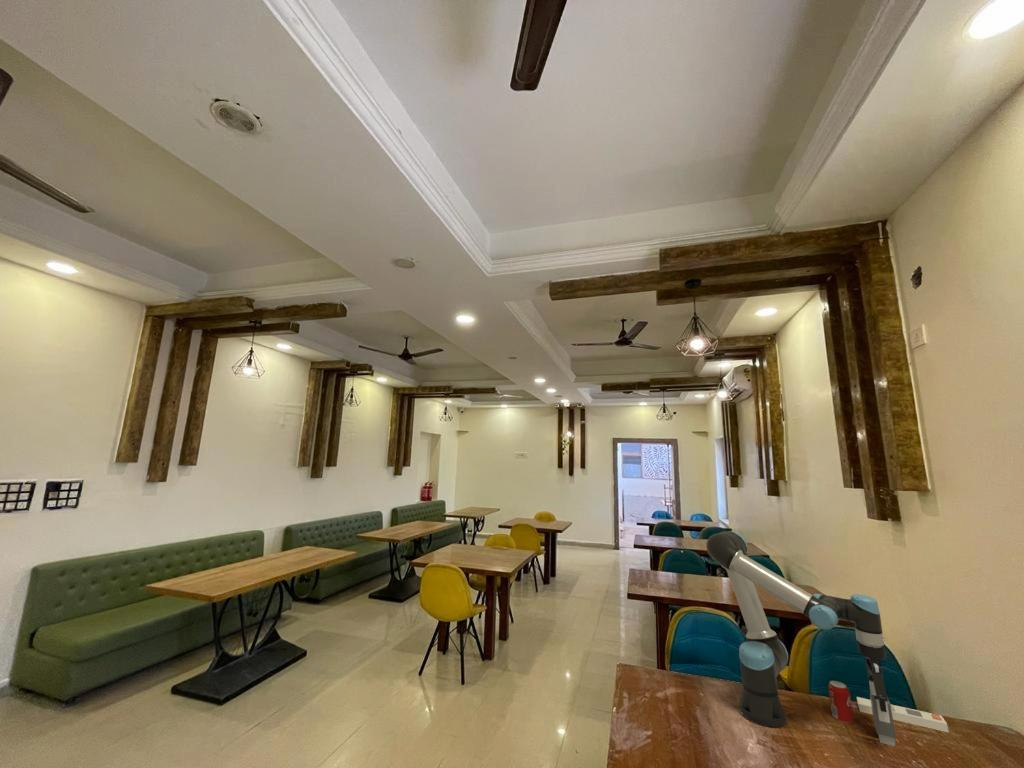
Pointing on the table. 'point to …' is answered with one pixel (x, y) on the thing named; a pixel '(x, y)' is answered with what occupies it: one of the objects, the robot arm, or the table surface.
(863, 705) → the power strip
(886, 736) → the charger
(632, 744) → the table surface
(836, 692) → the beverage can
